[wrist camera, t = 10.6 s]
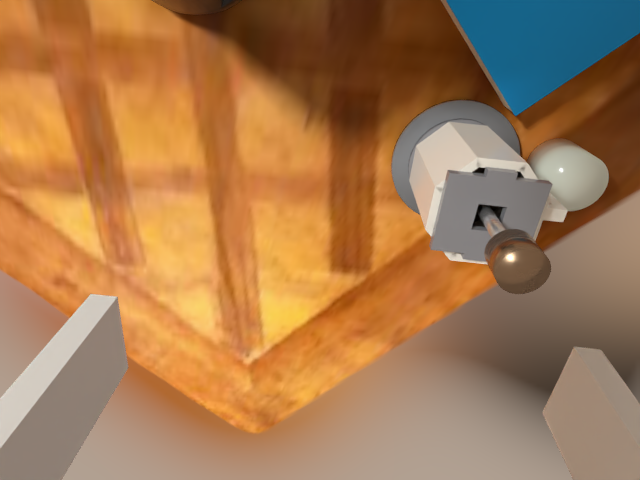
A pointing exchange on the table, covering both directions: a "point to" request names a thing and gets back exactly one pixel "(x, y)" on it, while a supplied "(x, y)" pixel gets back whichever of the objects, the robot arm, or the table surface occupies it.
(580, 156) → the espresso cup
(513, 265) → the plunger
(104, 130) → the table surface
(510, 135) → the disc
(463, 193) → the cafetiere
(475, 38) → the book
